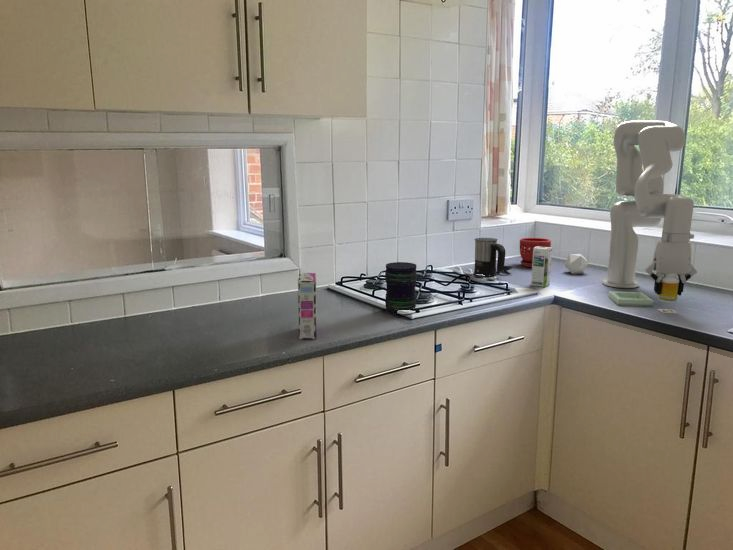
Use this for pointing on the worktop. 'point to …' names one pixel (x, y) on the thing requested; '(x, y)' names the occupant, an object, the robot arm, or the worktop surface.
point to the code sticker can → (666, 311)
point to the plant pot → (531, 248)
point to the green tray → (630, 298)
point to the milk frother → (489, 257)
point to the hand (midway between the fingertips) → (667, 293)
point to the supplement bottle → (669, 288)
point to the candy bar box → (307, 306)
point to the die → (576, 263)
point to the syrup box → (541, 266)
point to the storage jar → (400, 286)
